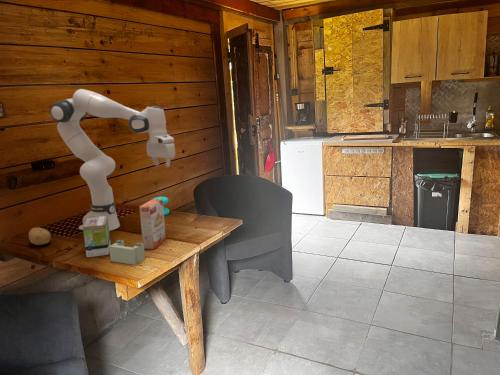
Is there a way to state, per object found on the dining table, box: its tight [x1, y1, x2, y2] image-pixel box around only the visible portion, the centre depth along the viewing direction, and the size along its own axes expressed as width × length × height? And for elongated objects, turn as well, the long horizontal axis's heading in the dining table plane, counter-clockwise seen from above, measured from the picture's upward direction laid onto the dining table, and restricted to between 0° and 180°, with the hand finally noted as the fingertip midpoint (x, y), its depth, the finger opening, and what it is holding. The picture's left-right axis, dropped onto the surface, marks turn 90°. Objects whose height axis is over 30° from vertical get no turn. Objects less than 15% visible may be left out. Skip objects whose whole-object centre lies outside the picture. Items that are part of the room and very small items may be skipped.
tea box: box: [82, 216, 112, 258], centre depth 182 cm, size 15×10×15 cm, turn 17°
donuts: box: [152, 196, 170, 216], centre depth 236 cm, size 10×10×10 cm
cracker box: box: [139, 198, 167, 250], centre depth 186 cm, size 14×6×21 cm, turn 168°
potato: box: [28, 227, 52, 246], centre depth 194 cm, size 10×14×8 cm
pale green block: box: [109, 239, 146, 266], centre depth 171 cm, size 13×7×8 cm, turn 67°
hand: (162, 166), depth 197 cm, fingers open, 8 cm apart
